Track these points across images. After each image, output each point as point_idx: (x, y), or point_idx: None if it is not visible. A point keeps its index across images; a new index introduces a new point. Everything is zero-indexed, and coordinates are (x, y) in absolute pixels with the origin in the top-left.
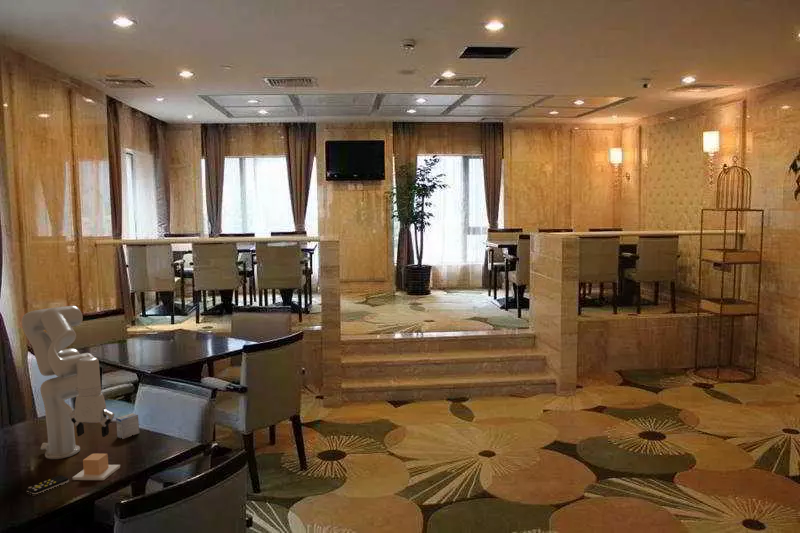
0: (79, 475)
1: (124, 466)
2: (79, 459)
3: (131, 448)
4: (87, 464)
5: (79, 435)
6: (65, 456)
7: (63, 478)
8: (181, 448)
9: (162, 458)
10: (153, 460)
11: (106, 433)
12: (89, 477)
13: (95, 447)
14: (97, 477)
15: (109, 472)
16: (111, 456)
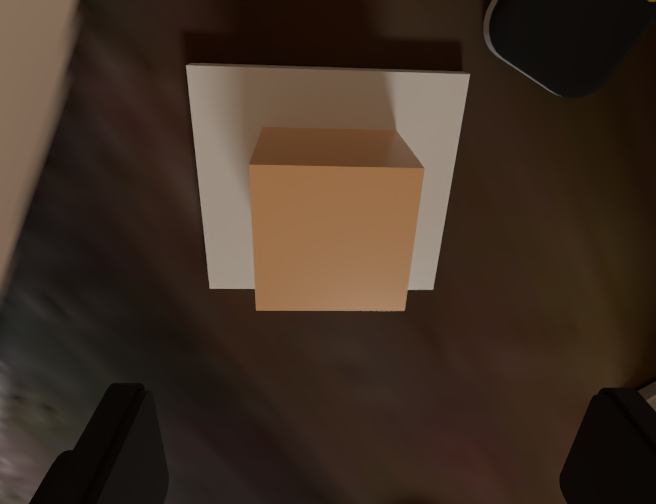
0: (425, 108)
1: (193, 291)
2: (552, 371)
3: (310, 485)
4: (370, 153)
5: (602, 400)
6: (651, 390)
7: (535, 25)
8: (16, 494)
9: (20, 393)
10: (57, 369)
11: (63, 455)
12: (317, 70)
13: (520, 488)
14: (241, 66)
15: (201, 164)
16: (371, 407)
